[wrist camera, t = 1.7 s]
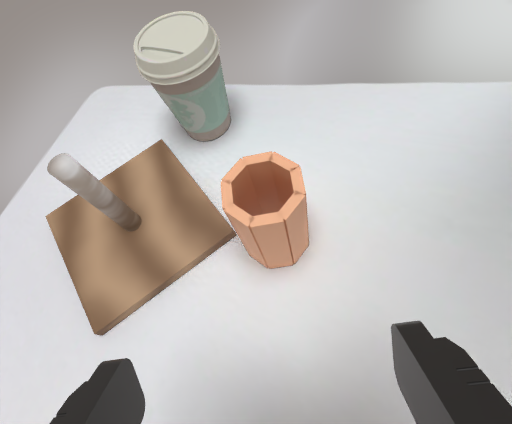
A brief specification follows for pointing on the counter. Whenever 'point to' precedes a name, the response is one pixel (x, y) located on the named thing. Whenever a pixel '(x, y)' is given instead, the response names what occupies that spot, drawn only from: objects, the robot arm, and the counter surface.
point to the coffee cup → (186, 71)
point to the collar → (267, 208)
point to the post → (132, 231)
